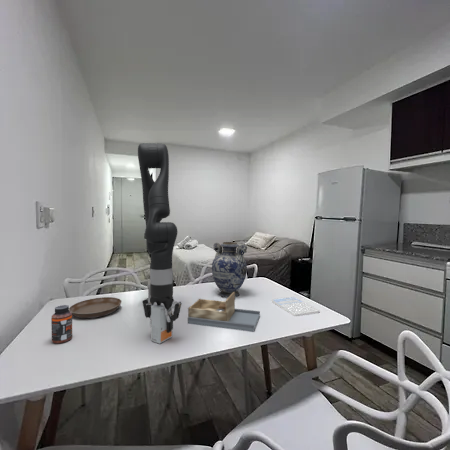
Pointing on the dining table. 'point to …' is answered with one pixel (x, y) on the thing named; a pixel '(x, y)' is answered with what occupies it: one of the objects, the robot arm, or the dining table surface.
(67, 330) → the supplement bottle
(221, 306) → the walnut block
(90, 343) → the dining table surface
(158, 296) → the robot arm
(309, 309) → the white flat textured slab
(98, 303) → the plant saucer
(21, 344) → the dining table surface
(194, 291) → the dining table surface
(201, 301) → the wooden drawer
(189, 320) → the rail board
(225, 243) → the decorative vase
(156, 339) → the skincare box
